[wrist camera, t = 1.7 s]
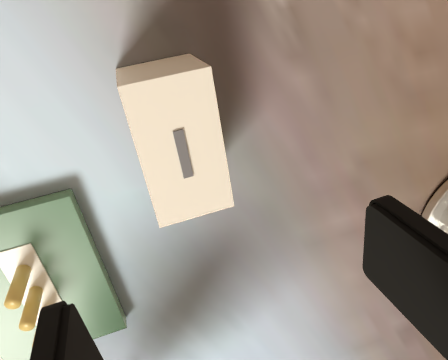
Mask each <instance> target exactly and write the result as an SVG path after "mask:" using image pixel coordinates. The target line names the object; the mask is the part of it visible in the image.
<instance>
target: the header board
mask: <svg viewBox="0 0 448 360" xmlns="http://www.w3.org/2000/svg"><path fill="white" fill-rule="evenodd" d="M60 301H65V302H66V303H67V304H71V303H73V304H74V305H75V306H76V308H77V310H78V312H79V314H80V316H81V318H82V320H83V322H84V324H85V326H86V327H87V329H88V331H89V333H90V335H91V337H92V339H95V338H98V337H101V336H104V335H107V334H110V333H113V332H116V331H119V330H122V329H125V328H127V325H126V316H125V314H124V311H123V309H122V307H121V304H120V302H119V300H118V297H117V295H116V293H115V290H114V288H113V286H112V283H111V281H110V279H109V276H108V274H107V271H106V269H105V267H104V264H103V262H102V260H101V257H100V255H99V253H98V250H97V248H96V246H95V243H94V241H93V239H92V236H91V234H90V232H89V229H88V227H87V225H86V222H85V220H84V218H83V215H82V213H81V211H80V208H79V206H78V203H77V201H76V199H75V196H74V194H73V192H72V189H68V190H64V191H60V192H57V193H53V194H49V195H45V196H41V197H38V198H34V199H30V200H26V201H22V202H19V203H15V204H11V205H7V206H3V207H0V357H1V359H2V360H30V356H31V351H32V346H33V342H34V337H35V332H36V327H37V323H38V318H39V313H40V310H41V308H42V307H45V306H48V305H51V304H54V303H57V302H60Z"/></svg>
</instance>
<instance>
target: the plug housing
mask: <svg viewBox="0 0 448 360" xmlns="http://www.w3.org/2000/svg"><path fill="white" fill-rule="evenodd" d="M116 79H117V88H118V91H119V95H120V98H121V101H122V105H123V108H124V111H125V115H126V118H127V121H128V125H129V128H130V131H131V134H132V138H133V141H134V144H135V148H136V151H137V154H138V158H139V161H140V164H141V168H142V171H143V174H144V178H145V181H146V184H147V187H148V191H149V194H150V197H151V201H152V204H153V207H154V211H155V214H156V217H157V221H158V224H159V227H160V228H162V227H165V226H169V225H172V224H175V223H179V222H182V221H186V220H189V219H192V218H196V217H199V216H203V215H206V214H209V213H213V212H216V211H219V210H223V209H226V208H230V207H233V206H234V201H233V195H232V189H231V183H230V177H229V171H228V165H227V159H226V153H225V147H224V141H223V135H222V129H221V123H220V117H219V111H218V105H217V99H216V93H215V87H214V81H213V75H212V69H211V66H210V65H208V64H206V63H205V62H203V61H201V60H200V59H198V58H196V57H194V56H193V55H191V54H184V55H179V56H174V57H169V58H165V59H160V60H155V61H150V62H145V63H141V64H136V65H131V66H126V67H121V68H116Z"/></svg>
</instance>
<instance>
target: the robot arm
mask: <svg viewBox="0 0 448 360" xmlns="http://www.w3.org/2000/svg"><path fill="white" fill-rule="evenodd" d="M363 270H364V273H365V275H366V276H367V277H368V279H369V280H370V281H371V282H372V283H373V284H374V285H375V286H376V287H377V288H378V289H379V290H380V291H381V292H382V293H383V294H384V295H385V296H386V297H387V298H388V299H389V300H390V301H391V302H392V303H393V305H394V306H395V307H396V308H397V309H398V310H399V311H400V312H401V313H402V314H403V315H404V316H405V317H406V318H407V319H408V320H409V321H410V322H411V323H412V324H413V325H414V326H415V327H416V328H417V330H418V331H419V332H420V333H421V334H422V335H423V336H424V337H425V338H426V339H427V340H428V341H429V342H430V343H431V344H432V345H433V346H434V347H435V348H436V349H437V350H438V351H439V352H440V353H441V354H442V356H443V357H444V358H446V359H447V360H448V180H447V181H446V182H445V183H444V184H443V185H442V186H441V187H440V188H439V189H438V190H437V191H436V192H435V194H434V195H433V196H432V198H431V199H430V201H429V202H428V204H427V206H426V208H425V209H424V211H423V214H422V216H420V215H419V214H417V213H416V212H414V211H413V210H411V209H410V208H408V207H407V206H405V205H404V204H402V203H401V202H399V201H398V200H396V199H395V198H393V197H392V196H390V195H386V196H383V197H380V198H377V199H374V200H372V201H371V202H370V204H369V206H368V207H367V208H366V219H365V236H364V253H363ZM30 360H103V358H102V356H101V354H100V352H99V350H98V348H97V347H96V345H95V343H94V341H93V339H92V337H91V335H90V333H89V331H88V329H87V327H86V326H85V324H84V322H83V320H82V318H81V316H80V314H79V312H78V310H77V308H76V306H75V305H74V304H73V303H71V304H67V303H66V302H65V301H60V302H57V303H54V304H51V305H48V306H45V307H42V308H41V310H40V313H39V318H38V323H37V327H36V332H35V337H34V342H33V346H32V351H31V356H30Z"/></svg>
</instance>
